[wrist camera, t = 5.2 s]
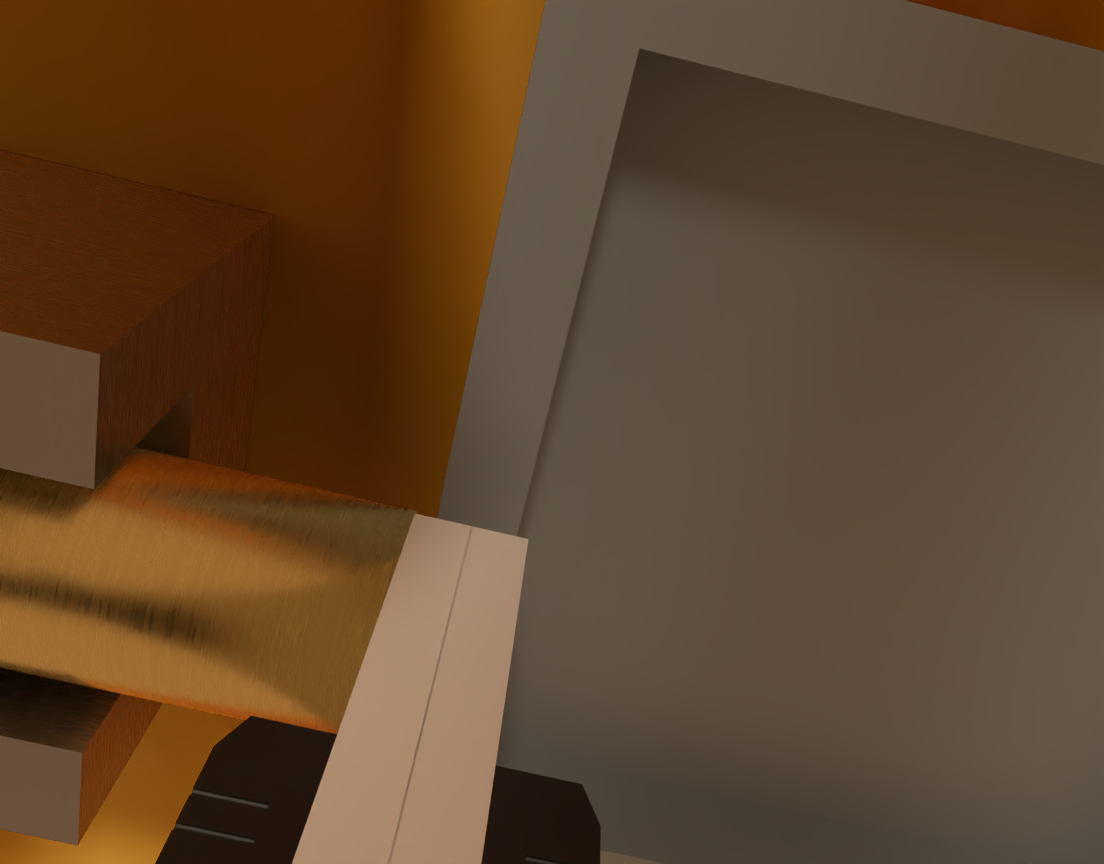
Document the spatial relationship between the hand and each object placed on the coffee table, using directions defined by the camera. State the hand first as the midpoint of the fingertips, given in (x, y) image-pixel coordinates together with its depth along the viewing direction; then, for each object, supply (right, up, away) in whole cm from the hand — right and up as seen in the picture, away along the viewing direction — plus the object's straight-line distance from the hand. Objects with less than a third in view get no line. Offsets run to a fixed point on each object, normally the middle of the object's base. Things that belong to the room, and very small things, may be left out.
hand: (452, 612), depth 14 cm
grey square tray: (+7, +1, +4) cm, 8 cm away
